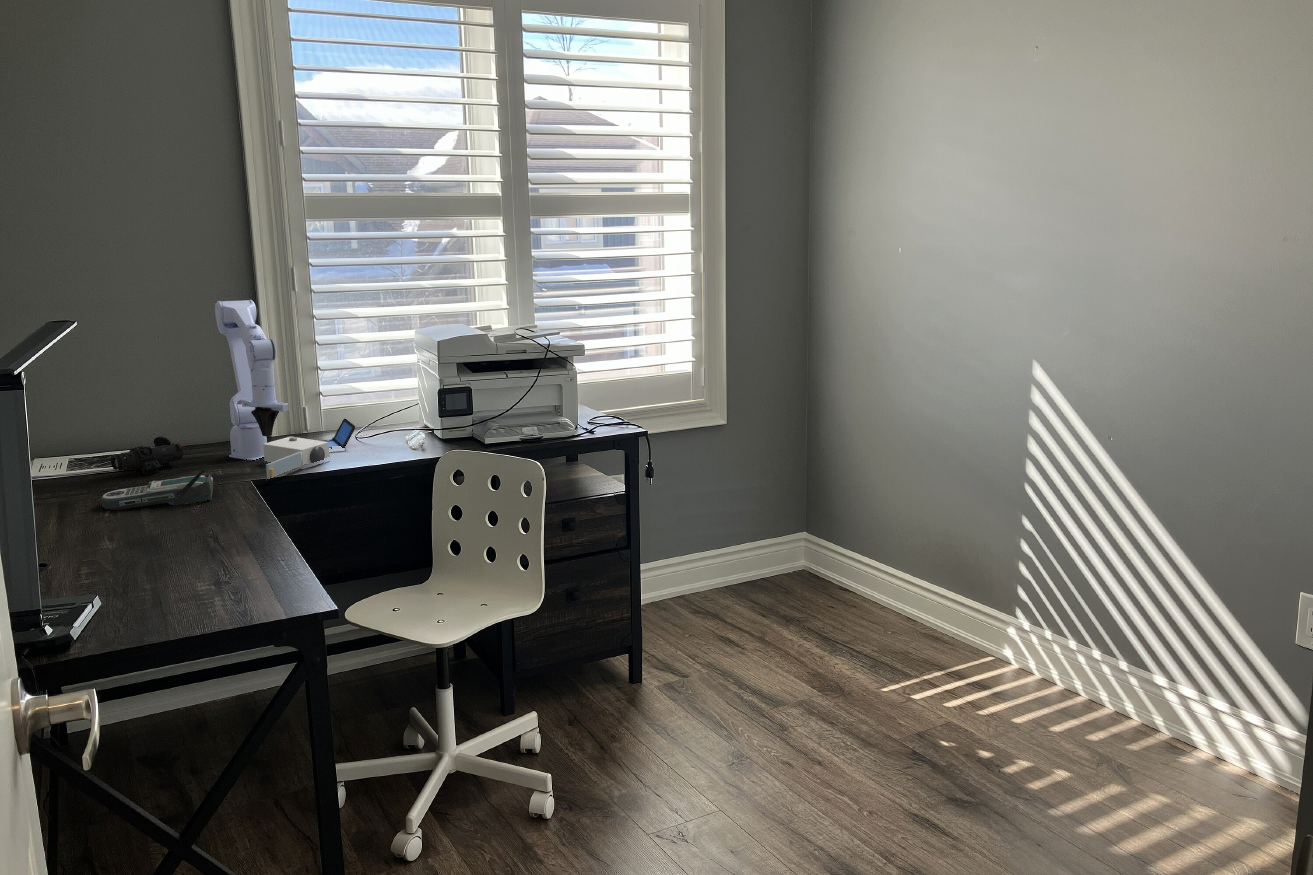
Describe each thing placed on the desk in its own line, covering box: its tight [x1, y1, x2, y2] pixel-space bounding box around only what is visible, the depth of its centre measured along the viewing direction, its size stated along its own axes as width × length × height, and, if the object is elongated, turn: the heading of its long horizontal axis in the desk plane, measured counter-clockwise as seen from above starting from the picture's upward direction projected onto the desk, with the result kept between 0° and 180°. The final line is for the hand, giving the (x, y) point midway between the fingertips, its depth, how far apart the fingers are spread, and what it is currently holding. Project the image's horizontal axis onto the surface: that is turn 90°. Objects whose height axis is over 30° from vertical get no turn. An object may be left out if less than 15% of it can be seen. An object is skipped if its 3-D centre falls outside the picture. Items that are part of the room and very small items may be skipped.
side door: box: [265, 452, 303, 480], centre depth 256 cm, size 14×2×4 cm, turn 164°
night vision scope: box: [110, 436, 186, 476], centre depth 259 cm, size 8×18×10 cm
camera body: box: [263, 435, 331, 465], centre depth 270 cm, size 15×10×6 cm
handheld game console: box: [321, 418, 356, 449], centre depth 287 cm, size 12×11×7 cm
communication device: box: [100, 468, 214, 511], centre depth 234 cm, size 12×24×9 cm, turn 112°
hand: (267, 435), depth 261 cm, fingers closed
